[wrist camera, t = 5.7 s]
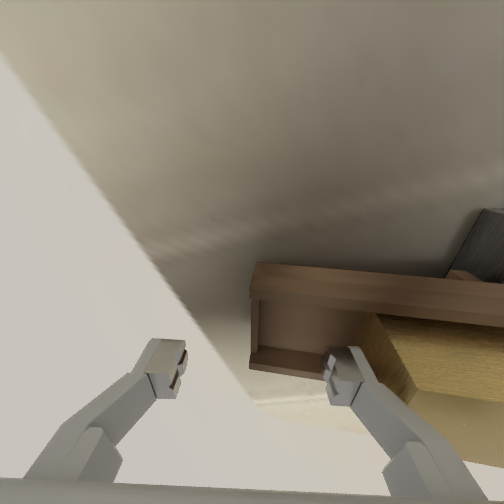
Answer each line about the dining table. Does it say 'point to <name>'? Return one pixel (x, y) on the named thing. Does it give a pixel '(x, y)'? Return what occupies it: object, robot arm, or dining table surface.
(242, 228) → the dining table surface
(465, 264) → the fulcrum
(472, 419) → the rider
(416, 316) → the beam
